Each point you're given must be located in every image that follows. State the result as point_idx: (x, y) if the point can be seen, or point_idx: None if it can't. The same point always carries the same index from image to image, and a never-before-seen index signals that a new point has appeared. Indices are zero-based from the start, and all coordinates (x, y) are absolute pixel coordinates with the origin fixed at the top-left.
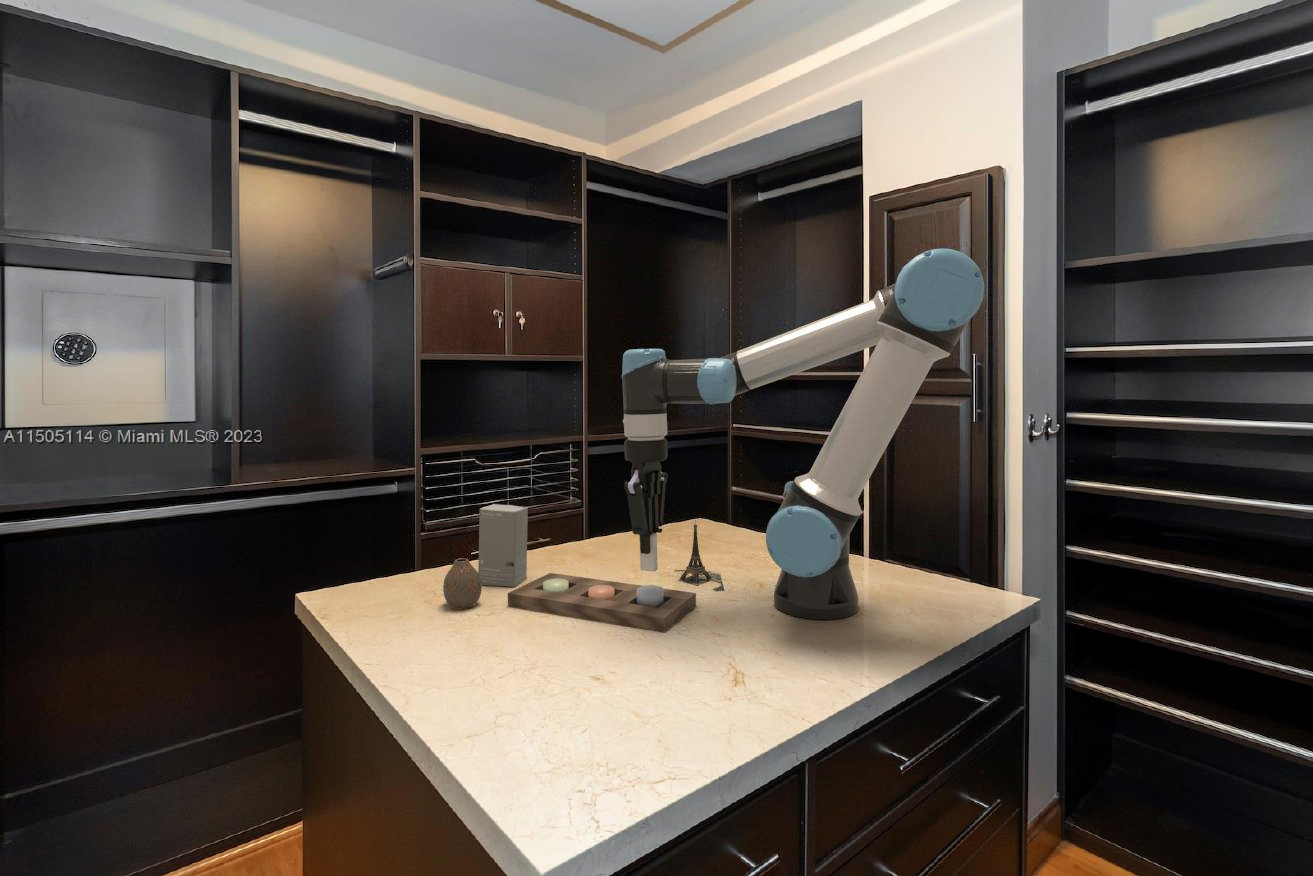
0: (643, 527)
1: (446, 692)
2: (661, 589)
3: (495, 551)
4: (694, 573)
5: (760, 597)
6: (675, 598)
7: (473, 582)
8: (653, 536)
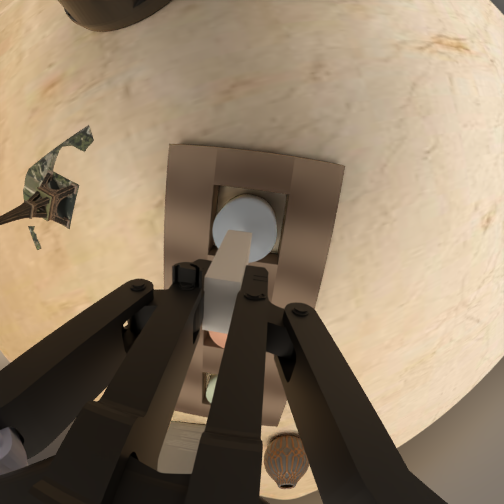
0: (324, 328)
1: (493, 343)
2: (236, 206)
3: None
4: (57, 198)
5: (104, 56)
6: (218, 175)
7: (296, 458)
8: (237, 279)
